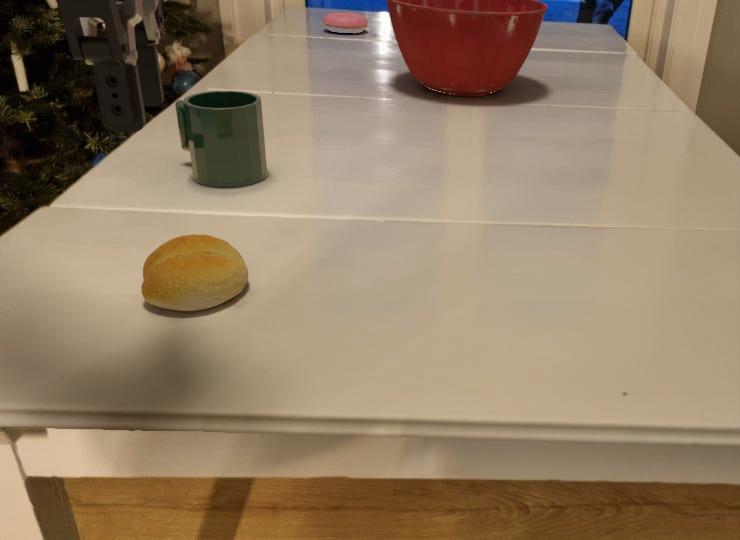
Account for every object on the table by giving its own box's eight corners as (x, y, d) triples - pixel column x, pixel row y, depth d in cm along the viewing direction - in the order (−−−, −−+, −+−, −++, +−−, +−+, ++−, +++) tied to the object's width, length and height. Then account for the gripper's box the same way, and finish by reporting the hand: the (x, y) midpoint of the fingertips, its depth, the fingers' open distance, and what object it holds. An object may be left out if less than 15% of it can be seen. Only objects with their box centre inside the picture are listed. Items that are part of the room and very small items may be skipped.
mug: (281, 172, 86) (276, 98, 82) (231, 193, 79) (222, 113, 75) (211, 154, 90) (202, 82, 86) (157, 171, 84) (145, 95, 80)
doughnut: (370, 29, 181) (370, 11, 179) (365, 36, 171) (364, 18, 169) (327, 26, 181) (326, 9, 179) (319, 34, 171) (318, 15, 169)
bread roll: (142, 322, 55) (134, 276, 53) (146, 270, 62) (139, 228, 61) (254, 308, 58) (249, 264, 56) (245, 259, 65) (240, 219, 63)
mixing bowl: (536, 75, 143) (544, -7, 136) (543, 113, 117) (553, 14, 110) (395, 67, 143) (396, -16, 136) (372, 102, 117) (371, 2, 110)
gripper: (47, -203, 42) (101, 88, 50) (-69, -243, 29) (28, 154, 37) (183, -192, 43) (215, 89, 51) (127, -226, 31) (181, 153, 39)
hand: (136, 115), depth 44 cm, fingers open, 5 cm apart
